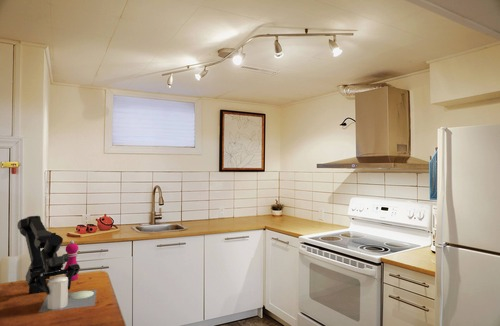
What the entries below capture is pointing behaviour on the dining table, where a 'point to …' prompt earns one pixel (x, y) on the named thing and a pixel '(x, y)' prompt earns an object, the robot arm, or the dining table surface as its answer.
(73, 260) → the pepper mill
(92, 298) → the board
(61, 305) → the salt shaker
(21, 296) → the dining table surface
